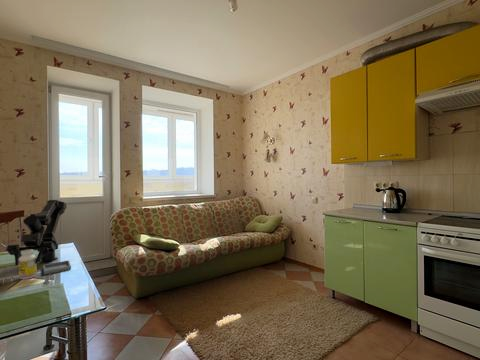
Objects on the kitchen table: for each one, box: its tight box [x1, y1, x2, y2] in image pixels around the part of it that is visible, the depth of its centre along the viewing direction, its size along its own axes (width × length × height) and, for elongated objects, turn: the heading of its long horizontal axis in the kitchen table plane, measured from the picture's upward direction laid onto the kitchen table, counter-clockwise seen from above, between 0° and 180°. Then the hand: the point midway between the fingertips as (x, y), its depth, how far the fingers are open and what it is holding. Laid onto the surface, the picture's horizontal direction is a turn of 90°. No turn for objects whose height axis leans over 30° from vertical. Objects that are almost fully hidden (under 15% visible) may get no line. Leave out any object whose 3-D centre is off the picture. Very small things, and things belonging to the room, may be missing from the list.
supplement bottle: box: [18, 249, 38, 280], centre depth 127 cm, size 7×7×13 cm
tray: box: [43, 259, 72, 276], centre depth 137 cm, size 11×11×2 cm
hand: (26, 264), depth 125 cm, fingers open, 8 cm apart
